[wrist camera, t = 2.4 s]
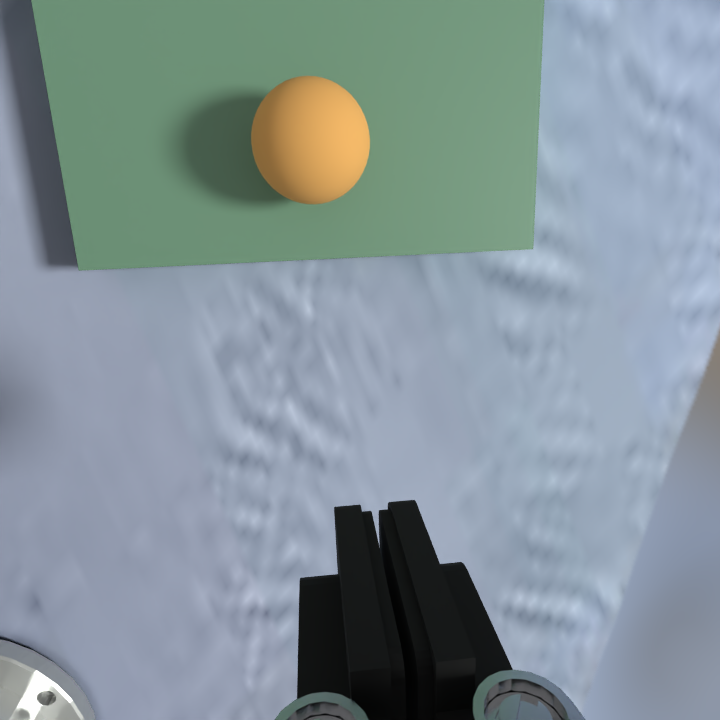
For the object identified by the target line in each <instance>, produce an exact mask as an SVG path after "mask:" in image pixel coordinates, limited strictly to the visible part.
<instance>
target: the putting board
mask: <svg viewBox="0 0 720 720" xmlns="http://www.w3.org/2000/svg"><path fill="white" fill-rule="evenodd" d="M31 2H32V8H33V13H34V19H35V25H36V30H37V36H38V42H39V47H40V53H41V59H42V64H43V70H44V76H45V81H46V87H47V93H48V99H49V104H50V110H51V116H52V121H53V127H54V133H55V138H56V144H57V150H58V155H59V161H60V167H61V172H62V178H63V184H64V189H65V195H66V201H67V206H68V212H69V218H70V224H71V229H72V235H73V241H74V246H75V252H76V258H77V263H78V269H79V270H100V269H121V268H142V267H164V266H185V265H206V264H227V263H249V262H270V261H291V260H312V259H334V258H355V257H376V256H397V255H418V254H440V253H461V252H482V251H503V250H525V249H533V242H534V219H535V197H536V174H537V152H538V130H539V107H540V85H541V62H542V40H543V17H544V0H31ZM299 76H317V77H322V78H325V79H328V80H331V81H333V82H335V83H337V84H338V85H340V86H341V87H343V88H344V89H345V90H347V91H348V92H349V93H350V94H351V95H352V96H353V98H354V99H355V100H356V101H357V103H358V104H359V106H360V107H361V109H362V111H363V114H364V116H365V118H366V121H367V124H368V129H369V135H370V150H369V157H368V160H367V164H366V166H365V169H364V171H363V173H362V175H361V177H360V178H359V180H358V181H357V183H356V184H355V185H354V186H353V187H352V188H351V189H350V190H349V191H348V192H347V193H345V194H344V195H343V196H341V197H339V198H337V199H335V200H333V201H330V202H327V203H323V204H303V203H299V202H295V201H292V200H290V199H288V198H286V197H284V196H282V195H281V194H279V193H278V192H277V191H276V190H274V189H273V188H272V187H271V186H270V185H269V184H268V183H267V181H266V180H265V179H264V177H263V176H262V174H261V173H260V171H259V169H258V167H257V164H256V162H255V159H254V155H253V151H252V144H251V131H252V124H253V120H254V117H255V114H256V111H257V109H258V107H259V105H260V103H261V102H262V101H263V99H264V98H265V96H266V95H267V94H268V93H269V92H270V91H271V90H272V89H274V88H275V87H276V86H277V85H279V84H281V83H282V82H284V81H286V80H289V79H291V78H295V77H299Z"/></svg>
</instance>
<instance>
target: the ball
mask: <svg viewBox="0 0 720 720" xmlns="http://www.w3.org/2000/svg"><path fill="white" fill-rule="evenodd" d="M251 144H252V151H253V155H254V159H255V162H256V164H257V167H258V169H259V171H260V173H261V174H262V176H263V177H264V179H265V180H266V181H267V183H268V184H269V185H270V186H271V187H272V188H273V189H274V190H276V191H277V192H278V193H279V194H281V195H282V196H284V197H286V198H288V199H290V200H292V201H295V202H299V203H303V204H323V203H327V202H330V201H333V200H335V199H337V198H339V197H341V196H343V195H344V194H345V193H347V192H348V191H349V190H350V189H351V188H352V187H353V186H354V185H355V184H356V183H357V181H358V180H359V178H360V177H361V175H362V173H363V171H364V169H365V166H366V164H367V160H368V157H369V150H370V135H369V129H368V124H367V121H366V118H365V116H364V114H363V111H362V109H361V107H360V106H359V104H358V103H357V101H356V100H355V99H354V98H353V96H352V95H351V94H350V93H349V92H348V91H347V90H345V89H344V88H343V87H341V86H340V85H338V84H337V83H335V82H333V81H331V80H328V79H325V78H322V77H317V76H299V77H295V78H291V79H289V80H286V81H284V82H282V83H281V84H279V85H277V86H276V87H275V88H274V89H272V90H271V91H270V92H269V93H268V94H267V95H266V96H265V98H264V99H263V101H262V102H261V103H260V105H259V107H258V109H257V111H256V114H255V117H254V120H253V124H252V131H251Z"/></svg>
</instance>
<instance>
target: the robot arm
mask: <svg viewBox="0 0 720 720" xmlns="http://www.w3.org/2000/svg"><path fill="white" fill-rule="evenodd" d="M334 513H335V530H336V548H337V565H338V574H336V575H326V576H315V577H305V578H300V592H299V639H298V685H297V699H296V700H294V701H293V702H292V703H291V704H289V705H288V706H287V707H285V708H284V709H283V710H282V711H281V712H280V713H279V715H278V716H277V717H276V719H275V720H585V719H584V717H583V716H582V714H581V713H580V712H579V710H578V709H577V707H576V706H575V705H574V703H573V702H572V701H571V700H570V699H569V697H568V696H567V695H566V694H565V693H564V692H563V691H562V690H561V689H560V688H559V687H557V686H556V685H555V684H553V683H552V682H550V681H549V680H547V679H546V678H543V677H541V676H538V675H536V674H533V673H531V672H526V671H519V670H513V669H512V667H511V665H510V662H509V660H508V658H507V656H506V654H505V652H504V649H503V647H502V645H501V643H500V641H499V638H498V636H497V634H496V632H495V630H494V627H493V625H492V623H491V621H490V619H489V616H488V614H487V612H486V610H485V608H484V606H483V603H482V601H481V599H480V597H479V595H478V592H477V590H476V588H475V586H474V584H473V581H472V579H471V577H470V575H469V573H468V571H467V569H466V567H465V565H464V564H463V563H462V562H457V563H447V564H440V563H439V561H438V558H437V555H436V553H435V550H434V548H433V545H432V542H431V540H430V537H429V535H428V532H427V529H426V527H425V524H424V522H423V519H422V516H421V514H420V511H419V509H418V506H417V503H416V501H415V500H409V501H397V502H389V503H388V510H379V540H380V548H379V543H378V539H377V534H376V530H375V525H374V521H373V516H372V512H371V511H365V512H362V510H361V505H351V506H340V507H334ZM0 720H95V715H94V711H93V709H92V707H91V705H90V703H89V701H88V699H87V697H86V695H85V693H84V692H83V691H82V690H81V688H80V687H79V686H78V685H77V683H76V682H75V681H74V680H73V678H72V677H70V676H69V675H68V674H67V673H66V672H65V671H63V670H62V669H61V668H60V667H59V666H58V665H56V664H55V663H54V662H52V661H50V660H49V659H47V658H45V657H44V656H42V655H40V654H38V653H37V652H35V651H33V650H31V649H28V648H25V647H23V646H20V645H18V644H15V643H12V642H10V641H5V640H1V639H0Z"/></svg>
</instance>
